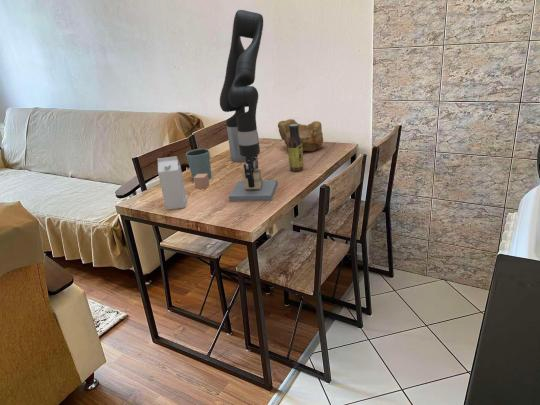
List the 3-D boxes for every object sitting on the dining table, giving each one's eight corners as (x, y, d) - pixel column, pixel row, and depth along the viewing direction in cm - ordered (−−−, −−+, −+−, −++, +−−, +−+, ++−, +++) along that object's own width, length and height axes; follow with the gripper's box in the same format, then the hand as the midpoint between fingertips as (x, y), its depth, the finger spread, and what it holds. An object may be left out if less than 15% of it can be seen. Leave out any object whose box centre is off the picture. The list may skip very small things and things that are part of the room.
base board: (239, 185, 166) (238, 181, 165) (277, 184, 163) (277, 180, 162) (229, 201, 151) (228, 196, 151) (271, 200, 148) (270, 195, 148)
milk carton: (168, 202, 156) (158, 155, 148) (187, 200, 156) (178, 153, 148) (166, 210, 149) (155, 161, 142) (185, 208, 149) (175, 159, 142)
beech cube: (247, 183, 159) (246, 169, 157) (262, 183, 158) (261, 168, 156) (244, 189, 154) (242, 174, 152) (259, 188, 153) (258, 174, 151)
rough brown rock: (271, 156, 202) (269, 128, 195) (282, 144, 216) (280, 117, 209) (316, 159, 194) (315, 129, 187) (324, 146, 208) (324, 118, 201)
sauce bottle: (302, 171, 174) (300, 126, 167) (288, 172, 176) (285, 127, 168) (304, 166, 180) (302, 122, 172) (290, 167, 182) (287, 123, 174)
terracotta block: (199, 184, 171) (197, 173, 169) (209, 184, 170) (207, 173, 169) (195, 189, 167) (193, 177, 165) (206, 188, 166) (204, 177, 164)
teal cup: (217, 174, 181) (213, 149, 176) (204, 182, 173) (199, 156, 168) (199, 173, 186) (195, 148, 181) (185, 180, 178) (180, 154, 173)
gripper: (254, 146, 142) (259, 190, 149) (262, 136, 155) (266, 177, 162) (234, 147, 143) (239, 191, 150) (243, 137, 156) (247, 177, 163)
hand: (253, 183), depth 156 cm, fingers closed on beech cube, 6 cm apart
